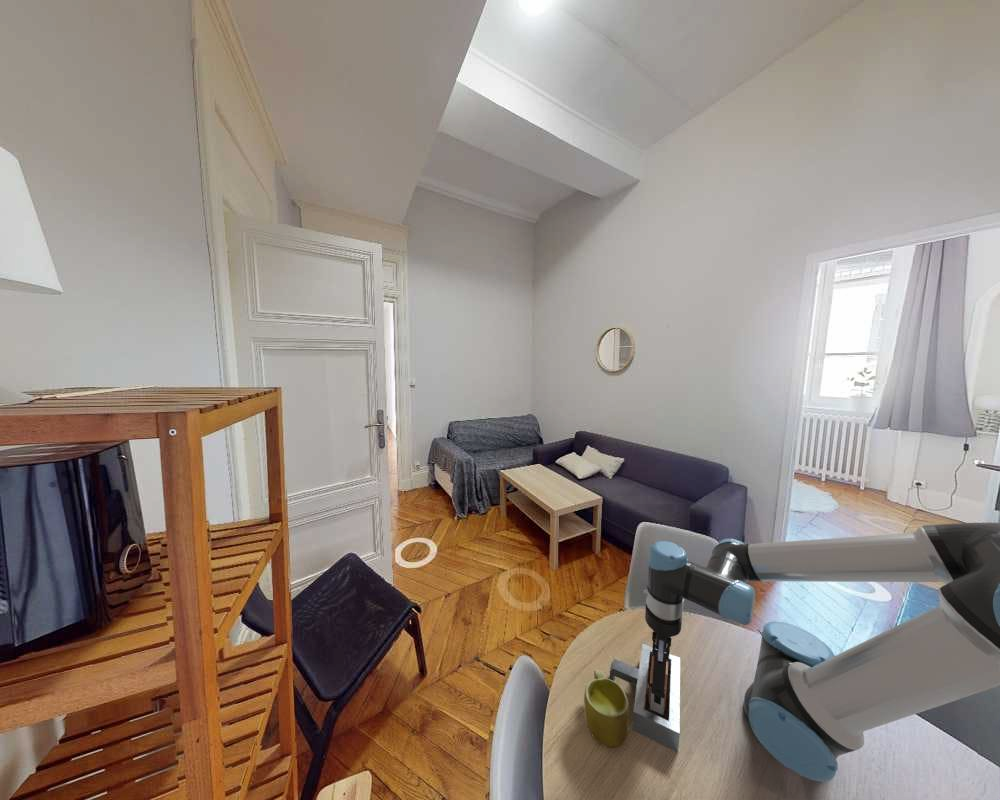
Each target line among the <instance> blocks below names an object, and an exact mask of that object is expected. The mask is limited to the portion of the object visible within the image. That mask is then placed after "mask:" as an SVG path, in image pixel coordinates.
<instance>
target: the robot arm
mask: <svg viewBox="0 0 1000 800" xmlns="http://www.w3.org/2000/svg"><path fill="white" fill-rule="evenodd" d="M646 581H647V584H646V589H644V590H643V594H644V595H645V596H646V601H645V603H646V604H645V612H644V613H645V614H644V619H645V622H646V624H647V626H648V627H649V628H650V630H652V635H651V640H652V647H653V649H652V653H653V654H654V667H653V681H652V683H650V682H648V685H647V688H649V689H650V688H651V703H650V704H649V705H650V707H649V709H650V710H652V711H654V712H655V713H657V714H660V715H662V716H663V715H664V697H665V676H666V662H667V660H668V659H669V654H671V653H670V652H671V651H670V650H671V646H672V637H676V636H677V635H679V634H680V633H681V631H682V621H683V614H684V602H685V600H687V601H689V602H692V603H695V605H698V606H700V607H702V608H704V609H706V610H709V611H710V612H712V613H715V614H717V615H719V616H721V617H722V618H724V619H729V620H731V621H734V622H736V623H737V624H741V625H744V626H747V625H749V624H750V623H751V621H752V617H753V613H754V607H755V599H756V590H755V588H754V587H753V586H752V585H751V584H749V583H748V582H750V583H751V582H752V583H753V582H819V583H820V582H824V583H825V582H826V583H827V582H831V583H832V582H834V583H835V582H839V583H841V582H842V583H843V582H845V583H846V582H849V583H853V582H855V583H856V582H858V583H863V582H864V583H870V582H871V583H873V582H874V583H942V584H944V585H942V586H940V587H939V588H938V590H937V591H938V596H939V602H940V603H939V604H938V605H937V606H935V607H932V608H931V609H928V610H927V611H924V612H922V613H919V614H918V615H916V616H914V617H912V618H910V619H908V620H906V621H904V622H902V623H899V624H898V625H896V626H893V627H891V628H890V629H887V630H885V631H884V632H881V633H879V634H877V635H875V636H873V637H871V638H869V639H867V640H865V641H863V642H860V643H858V644H857V645H855V646H853V647H850V648H848V649H846V650H844V651H842V652H840V653H838V654H836V655H835V654H834V652H833V651H832V649H831V648H830V647H829V646H828V645H827V644H826V643H825V642H824V641H822V640H821V639H819V637H817V636H816V635H814V634H813V633H811V632H809V631H807V630H805V629H803V628H801V627H799V626H796V625H794V624H790V623H787V622H784V621H769V622H767V623H765V624H764V626H763V628H762V631H761V633H760V635H761V641H760V646H759V647H760V649H759V654H758V658H757V659H758V660H757V663H756V664H757V665H756V669H755V673H754V679H753V682H752V683H751V684H750V685H749V687H748V688H747V689H746V691H745V693H744V699H743V711H744V714H745V717H746V719H747V722H748V723H749V725H750V727H751V730H752V732H753V735H755V737H756V738H757V740H758V741H759V742H760V744H761V745H762V747H763V748H764V749H765V750H766V751H767V752H768V753H769V754H770V755H771V756H772V757H774V758H775V759H776V761H778V762H780V764H782V765H783V766H784V767H786V768H788V769H789V770H792V771H794V772H795V773H796V774H798V775H799V776H801V777H803V778H806V779H809V780H811V781H815V782H822V783H823V782H829V781H831V780H833V779H834V778H835V777H836V774H837V772H838V769H839V765H838V761H837V758H838V757H840V756H842V755H846V754H849V753H852V752H855V751H857V750H858V751H859V750H860V749H861V748H863V746H864V745H865V736H864V732H866V731H868V730H872V729H875V728H877V727H880V726H884V725H887V724H889V723H892V722H895V721H896V722H897V721H899V720H901V719H905V718H907V717H911V716H914V715H916V714H919V713H922V712H926V711H928V710H931V709H934V708H937V707H941V706H944V705H946V704H949V703H952V702H955V701H958V700H961V699H964V698H967V697H970V696H972V695H976V694H979V693H982V692H985V691H989V690H991V689H993V688H997V687H999V686H1000V522H958V523H943V524H942V523H941V524H940V523H939V524H931V525H930V524H929V525H919V526H918V527H917V529H915V531H913V532H908V533H892V534H879V535H878V534H877V535H865V536H863V535H861V536H849V537H838V538H837V537H836V538H819V539H804V540H790V541H789V540H788V541H776V542H775V541H774V542H763V543H762V542H759V543H750V544H749V543H747V544H746V543H744V542H743V541H741V540H737V539H734V538H724V539H722V540H720V541H719V542H718V543H716V545H715V546H714V548H713V549H712V552H711V556H710V557H709V560H708V561H707V563H706V565H705V566H702V565H699V564H697V563H694V562H691V561H689V560H688V554H687V552H686V550H685V549H684V548H683V547H681V546H679V545H678V544H676V543H674V542H671V541H668V540H667V541H666V540H657V541H656V542H654V543H652V544H651V545H650V548H649V553H648V560H647V579H646ZM655 648H656V649H657V650H656V649H655ZM664 652H665V653H664Z"/></svg>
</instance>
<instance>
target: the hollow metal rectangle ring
mask: <svg viewBox="0 0 1000 800" xmlns="http://www.w3.org/2000/svg"><path fill="white" fill-rule="evenodd" d="M652 649H653V646H650V645H647V644H645V643H642V644H641V651H640V659H639V668H637V667H634V666H633V665H629V664H628V663H625V662H623V661H620V660H619V659H615V658H614V659H613V661H611V664H610V667H609V679H610V680H612V681H614V682H615V679H616V678H618V679H621V680H623V681H625V682H628V683H629V684H632V685H634V686H636V689H635V697H634V705H633V714H632V730H631V731H634V732H635V733H637V734H639V735H641V736H643V737H646V738H648V739H649V740H651V741H653V742H655V743H657V744H659V745H661V746H663V747H666V748H667V749H669V750H671V751H673V752H676V753H679V745H680V734H681V732H680V731H681V730H680V727H681V726H680V721H681V717H680V715H681V713H680V712H681V711H680V710H681V708H680V707H681V657H679V656H676V655H674V654H671V653H670V654H669V659H668V660H667V662H668V676H669V694H668V695H669V696H668V697H669V699H668V717H667V718H668V720H667V719H665V718H663V717H661V716H659V715H657V714H655V713H652V712H650V711H648V710H646V709H645V708H646V702H647V701H646V699H647V692H648V691H647V690H648V683H649V682H648V680H649V670H650V669H651V662H652V656H654V654H653V653H652ZM655 649H656V648H655ZM656 650H657V649H656ZM664 653H665V652H664Z"/></svg>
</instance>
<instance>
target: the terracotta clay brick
mask: <svg viewBox="0 0 1000 800" xmlns="http://www.w3.org/2000/svg"><path fill="white" fill-rule="evenodd" d="M653 667H654V656H652V662H651V668H650V678H649V683H652V681H653ZM668 676H669V675H668V662H666V676H665V697H664V710H663V712H664V711H666V700H667V686H668ZM648 695H649V697H648V704H649V705H650V703H651V688H650V687H649V692H648Z"/></svg>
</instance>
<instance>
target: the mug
mask: <svg viewBox="0 0 1000 800" xmlns="http://www.w3.org/2000/svg"><path fill="white" fill-rule="evenodd" d="M593 671H594V672H593V676H594V677H593V679H592V680H591V681H589V682H588V683H587V684H586V686H585V689H584V698H583V699H584V700H583V701H584V708H585V715H586V716H585V717H586V722H587V727H588V730H589V731H590V734H591V735H592V737H593V739H595V741H596V742H597V743H599V744H600V745H602V746H604V747H605V748H609V749H610V748H611V749H616V748H618V747H620V746H622V745H624V744H625V742H626V740H627V738H628V730H629V728H628V725H629V724H628V723H629V709H630V708H629V700H628V697H627V695H626V692H625V691H624V688H622V686H621V685H620V684H618V683H617V682H616V681H615V680H614V681H612V680H610V678H605V676H604V672H603V671H602V670H601V669H594V670H593Z"/></svg>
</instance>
